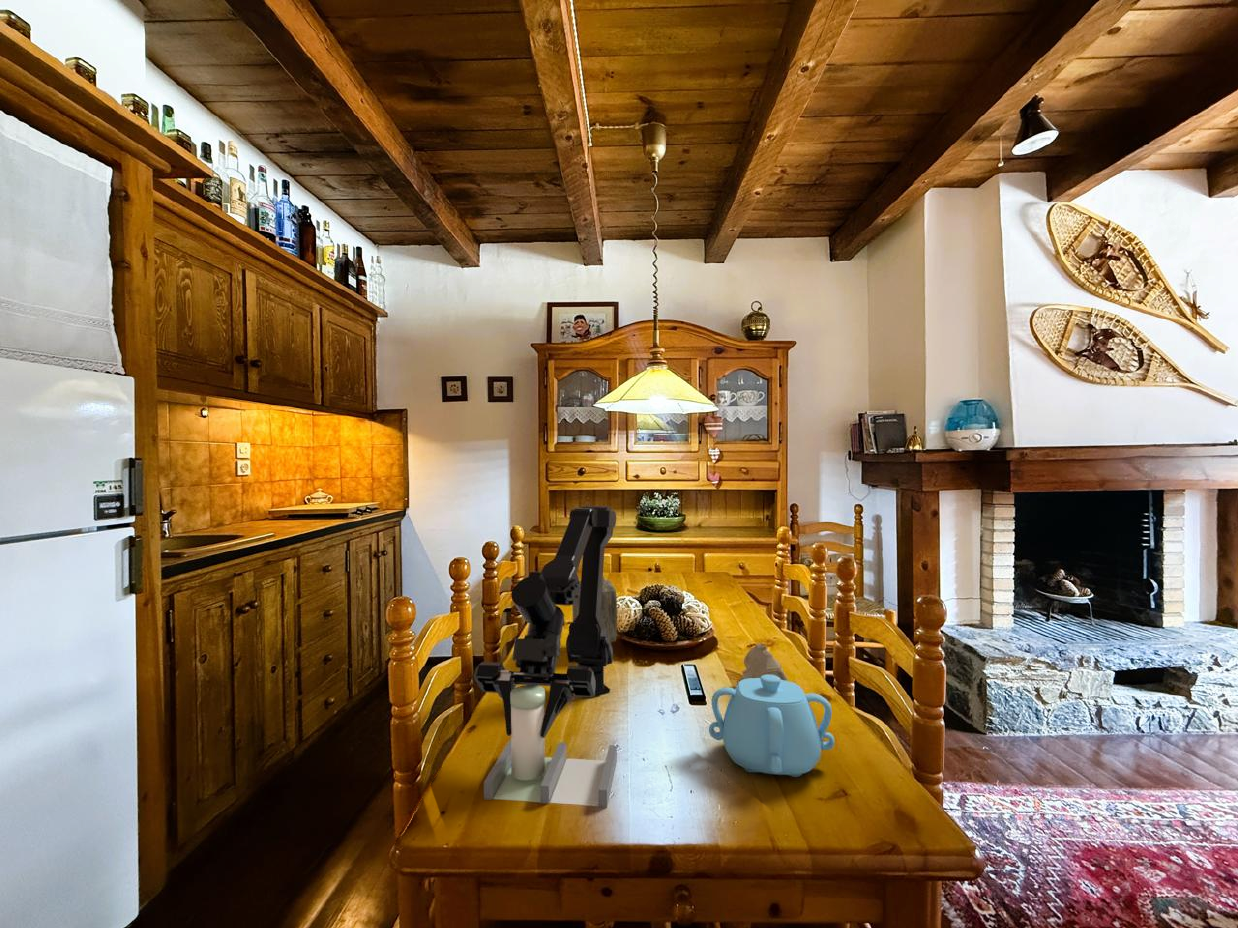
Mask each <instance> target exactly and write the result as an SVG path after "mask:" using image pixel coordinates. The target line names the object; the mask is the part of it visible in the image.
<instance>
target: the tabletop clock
mask: <svg viewBox="0 0 1238 928" xmlns="http://www.w3.org/2000/svg"><path fill="white" fill-rule="evenodd" d="M579 581H580V587H581V580H579ZM579 600H580V594H579V597H578V598H577V600H575V602H574V604H573V605H572V622H573V621H574V620H575V618H576V617H577V616H578V613H579ZM600 615H601V617H602V619H603V621H604V623H605V625H606V627H607V637H608V639H609V641H610V643H611V642H616V641H617V633H618V601H617V590H616V587H615V586H614V583H612V581H610V580H609V579H605V576H604V575H603V580H602V596H601V611H600Z"/></svg>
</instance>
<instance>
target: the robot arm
mask: <svg viewBox="0 0 1238 928" xmlns="http://www.w3.org/2000/svg"><path fill="white" fill-rule="evenodd" d="M568 517H569V520H568V521H569V522H568V524H567V526H566V527H565V531H564V533H563V537H562V539H561V541H560V544H559V546H558V548H557V551H556V554H555V556H554V558H553V559H551V560H550V561H549V562H547V563H546V564H544V565H543V567H542V569H541V570H540V571H530V572H529V575H528V577H525V578H522V579H521V580H519V581H518V582H517V583H516V584H515V586H513V588H512V589H511V594H510V597H511V600H512V602H513V604H514V606H515V607H516V608H517V610H518V612H519V613H520V615H521V616H522V619H523V620H524V621H525V622H526V623H527V624H528V629H527V633H526V634H525V635H524V637H523V638H521V637H520V638H518V637H517V638H514V643H513V651H512V659H511V660H512V661H515V667H516V668H518V669H519V670H518V671H515V670H514V671H513V670H509V669H506V668H505V666H504V664H503V663H502V662H490V661H481V662H480V663H479V664H478V665H477V666H476V667H475V670H474V675H473V679H474V681H475V683H476V684H477V686H478V687H479V689H480V690H481V692H484V693H488V694H489V693H490V694H497V695H498V696H499V697H500V698H501V699H502V703H503V711H504V722H505V723H504V724H505V732H506V736H507V737H511V704H510V693H511V691H512V690H513V689H514V688H517V685H518V686H519V685H520V686H524V685H537V686H541V687H549V694H548V700H547V704H546V707H545V716H544V720H543V724H542V731H541V737H542V738H545V739H546V737H547V735H548V732H549V731H550V730H551V727H552V726H553V724H554V722H555V721H556V719H557V717H558V716H559V714H560V713H561V711H562V710H563V709H564V707H566V705H567V703H568V702H569V703H570V702H574V700H575V698H593V697H595V696H597V695H602V694H607V693H610V692H611V688H609V687H608V686H607V685H606V684H605V683H604V681H605V679H604V678H605V675H604V674H605V671H604V670H605V669H604V667H607V666H608V665H612V664H613V656H614V653H613V651H614V649H613V646H612V645H611V642H610V641H609V639H608V637H607V627H606V625H605V623H604V621H603V619H602V617H601V615H600V611H601V596H602V580H603V576H604V566H605V565H604V562H605V561H604V560H605V547H606V546H607V544H608V543H609V541H611V538H612V537H613V536H614V528H615V527H616V524H617V513H616V511H615V510H613V509H612V507H611V506H610V505H582V506H581V507H575V508H572V509H571V510H570V512H569V516H568ZM581 560H582V561H581ZM580 563H581V574H580V575H581V576H580V578H579V575H578V570H579V566H580ZM580 581H581V587H580ZM579 594H580V600H579V613H578V616H577V617H576V618H575V620H574V621H573V620H572V621H570V624H569V625H568V634H567V636H566V641H565V642H566V643H565V647H566V656H567V660H568V663H570V664H571V663H574V664H576V665H568V666H567V668H566V673H560V672H558V673H556V668H557V664H558V659H559V657H560V654H561V638H562V632H563V627H564V626H565V624H566V623H565V614H564V613H565V612H563V610H562V609H561V608H560V606H565V607H566V606H567V607H569V606H573V604H574V602H575V600H577V598H578V597H579Z"/></svg>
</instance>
